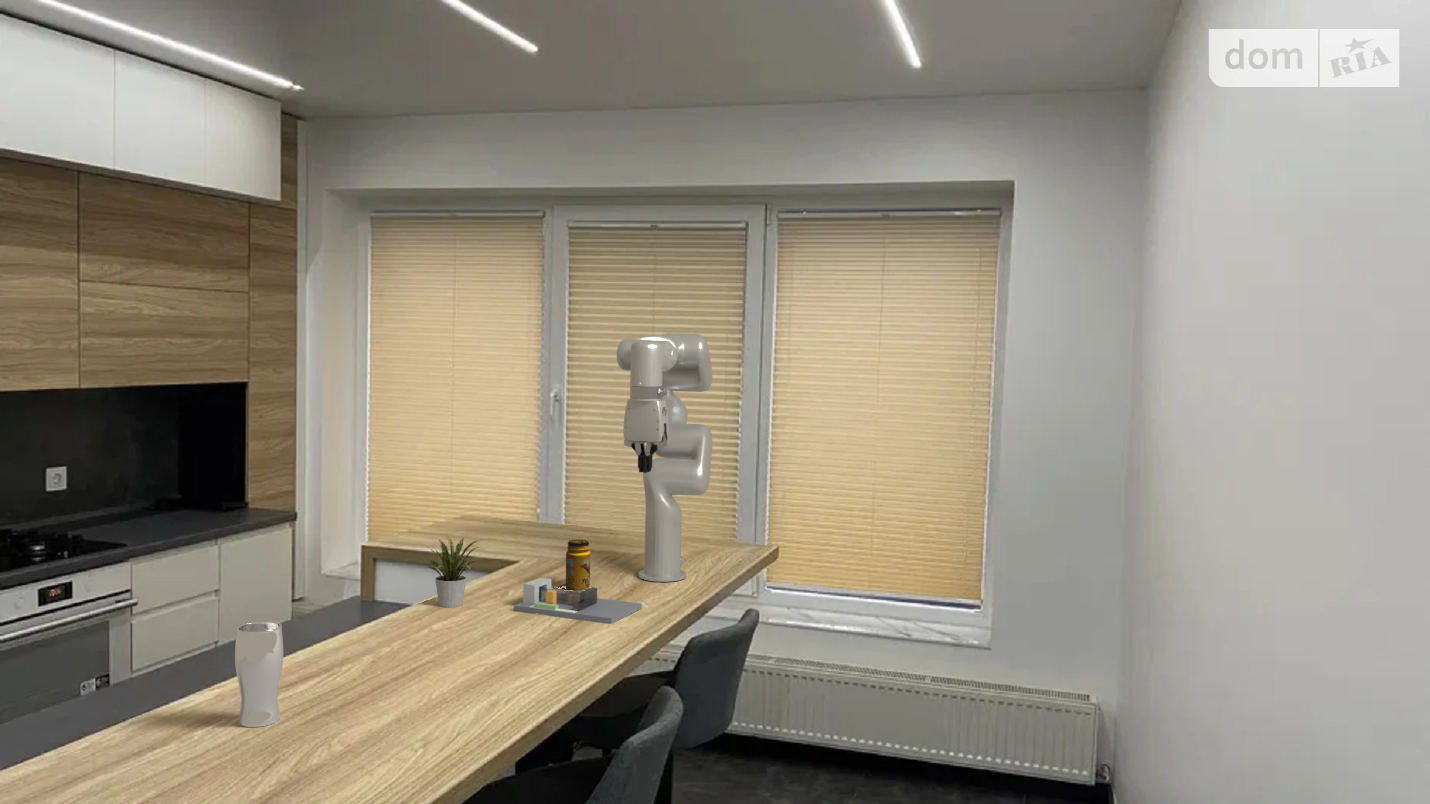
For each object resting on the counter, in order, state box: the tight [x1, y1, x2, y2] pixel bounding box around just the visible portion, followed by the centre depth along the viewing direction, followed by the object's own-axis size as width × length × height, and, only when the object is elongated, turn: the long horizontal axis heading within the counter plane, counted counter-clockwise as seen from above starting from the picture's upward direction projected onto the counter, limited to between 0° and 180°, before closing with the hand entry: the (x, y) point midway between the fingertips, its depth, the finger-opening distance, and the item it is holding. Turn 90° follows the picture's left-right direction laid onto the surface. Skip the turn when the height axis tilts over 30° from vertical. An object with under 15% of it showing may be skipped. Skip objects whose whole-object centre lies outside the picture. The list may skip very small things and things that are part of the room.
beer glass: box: [234, 620, 284, 728], centre depth 162 cm, size 7×7×15 cm
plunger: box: [539, 586, 598, 611], centre depth 237 cm, size 9×15×4 cm, turn 68°
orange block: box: [546, 590, 557, 605], centre depth 234 cm, size 2×2×4 cm
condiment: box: [552, 539, 592, 592], centre depth 258 cm, size 7×8×12 cm
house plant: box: [421, 535, 482, 608], centre depth 238 cm, size 14×14×16 cm
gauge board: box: [513, 577, 643, 625], centre depth 237 cm, size 15×25×5 cm, turn 68°
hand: (644, 471), depth 242 cm, fingers closed
